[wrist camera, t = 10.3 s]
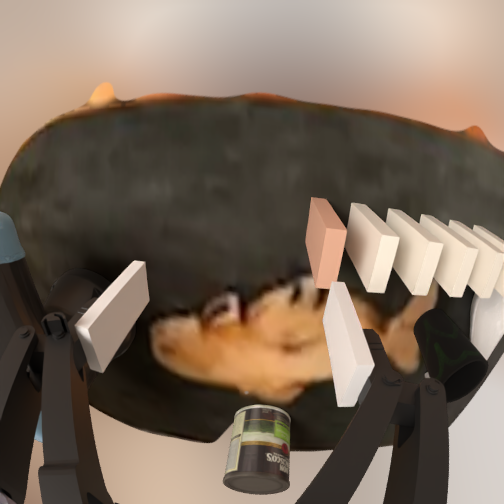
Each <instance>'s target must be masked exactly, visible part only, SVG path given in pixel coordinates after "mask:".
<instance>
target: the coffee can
mask: <svg viewBox="0 0 504 504" xmlns="http://www.w3.org/2000/svg"><path fill="white" fill-rule="evenodd" d="M290 421H291V419H290V416H289V414H288V413H287V412H285V411H284V410H282V409H280V408H278V407H274V406H270V405H250V406H246V407H243V408H241V409H240V410H238V411H237V412H236V414H235V416H234V425H233V431H232V438H231V443H230V449H229V454H228V460H227V465H226V471H225V477H224V479H223V483H224V485H225V486H227V487H228V488H230V489H232V490H235V491H239V492H243V493H249V494H260V495H261V494H274V493H279V492H283V491H285V490H287V489H288V488H289V486H290V482H289V455H290Z"/></svg>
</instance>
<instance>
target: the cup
mask: <svg viewBox="0 0 504 504" xmlns="http://www.w3.org/2000/svg"><path fill="white" fill-rule="evenodd" d="M414 335H415V337H416V340H417V343H418V345H419V348H420V351H421V353H422V356H423V359H424V362H425V365H426V368H427V371H428V374H429V377H430V378H434V379H437V380H438V381H440V382H441V383H442V384H443V385H444V388H445V392H446V402H447V403H449V402H453V401H456V400H458V399H460V398H462V397H464V396H465V395H467V394H468V393H470V392H471V391H472V390H473V389H474V388H476V387H477V386H478V384H479V383H480V382H481V381H482V379H483V378H484V376H485V375H486V372H487V369H488V361H487V360H486V359H485V358H484V357H483V355H482V354H481V353H480V352H479V351H478V349H477V348H476V347H475V346H474V345H473V344H472V343H471V341H470V340H469V339H468V338H467V337H466V336H465V335H464V333H463V332H462V331H461V330H460V329H459V328H458V327H457V326H456V325H455V323H454V322H453V321H452V320H451V319H450V318H449V317H448V316H447V315H446V314H445V313H444V312H443V311H442V310H441V309H432V310H429V311H427V312H425V313H424V314H423V315H422V316H421V317H420V318H419V319H418V320H417V322H416V323H415V326H414Z"/></svg>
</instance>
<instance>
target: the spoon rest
mask: <svg viewBox="0 0 504 504" xmlns="http://www.w3.org/2000/svg"><path fill="white" fill-rule="evenodd" d="M503 334H504V297H503V296H502V295H501V294H500V293H499V292H498V291H497V290H496V289H495V288H494V289H493V292H492V294H491V296H490V298H480V297H479V296H478V295H477V294H476V293H475V294H474V297H473V300H472V304H471V310H470V341H471V343H472V344H473V345H474V346H475V347H476V348H477V349H478V351H479V352H480V353H481V354H482V355H483V357H484V358H485V359H486V360H487V359H488V358H489V356H490V355H491V353H492V351H493V350H494V348H495V347H496V345H497V344H498V342H499V340H500V339H501V337H502V336H503ZM425 378H430V377H429V374H428V372H427V373H425Z"/></svg>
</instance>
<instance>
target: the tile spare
mask: <svg viewBox="0 0 504 504" xmlns="http://www.w3.org/2000/svg"><path fill="white" fill-rule="evenodd" d="M346 234H347V229H346V228H345V226H344V225H343V223H342V222H341V220H340V219H339V217H338V216H337V214H336V213H335V211H334V210H333V208H332V207H331V205H330V204H329V202H328V201H327V200H326V199H321V198H313V197H311V205H310V212H309V220H308V227H307V234H306V241H305V242H306V246H307V251H308V255H309V260H310V264H311V269H312V273H313V278H314V283H315V288H325V289H330V287H331V283H332V281H333V282H337V278H338V273H339V269H340V264H341V259H342V255H343V250H344V245H345V240H346Z"/></svg>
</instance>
